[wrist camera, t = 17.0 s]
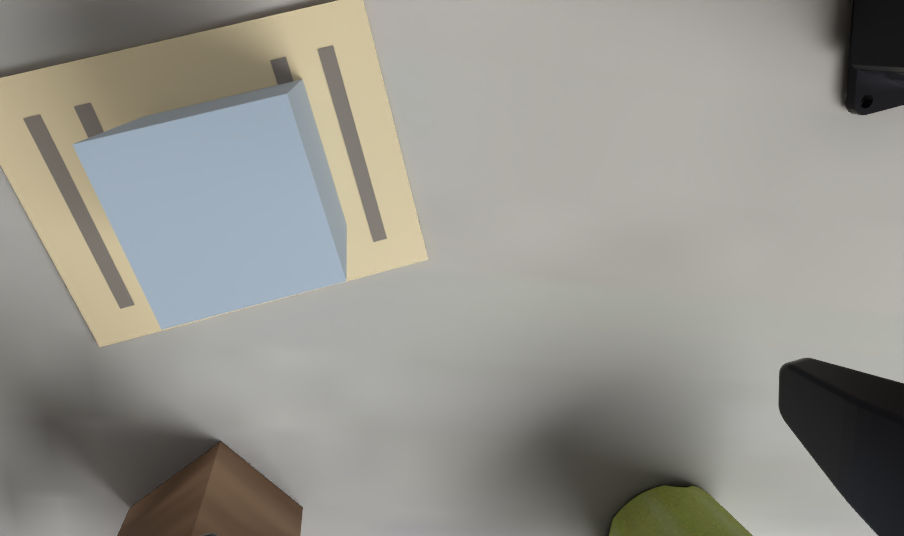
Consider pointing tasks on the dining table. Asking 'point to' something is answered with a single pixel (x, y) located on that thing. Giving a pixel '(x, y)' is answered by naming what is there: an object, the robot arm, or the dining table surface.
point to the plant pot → (675, 515)
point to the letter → (188, 83)
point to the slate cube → (222, 202)
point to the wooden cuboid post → (215, 502)
